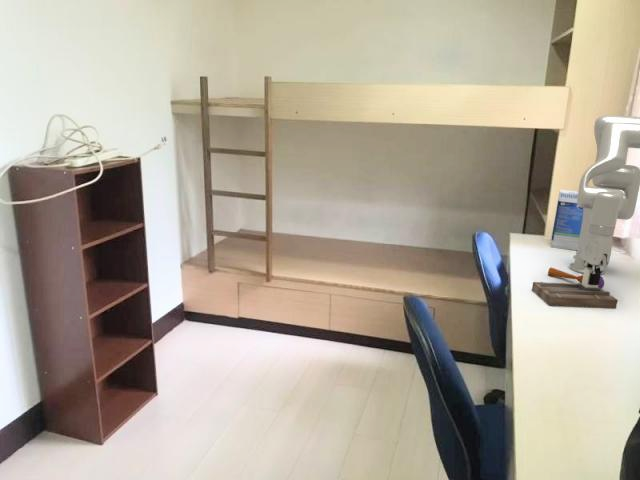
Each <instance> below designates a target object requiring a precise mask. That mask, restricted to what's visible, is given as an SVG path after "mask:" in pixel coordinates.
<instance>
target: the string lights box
mask: <svg viewBox="0 0 640 480" xmlns="http://www.w3.org/2000/svg"><path fill="white" fill-rule="evenodd" d="M577 195H578V190H568V189H559V194H558V198H557V204H556V209H555V217H554V222H553V227H552V234H551V239H550V245H549V246H550V248H554V249H555V248H556V249H561V248H562V249H563V250H568V249H571V250H570V251H575V250H577V246H578V241H579V236H580V231H581V226H582V219H583V208H582V207H580V206H579V205H578V203H577ZM562 249H561V250H562Z"/></svg>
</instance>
